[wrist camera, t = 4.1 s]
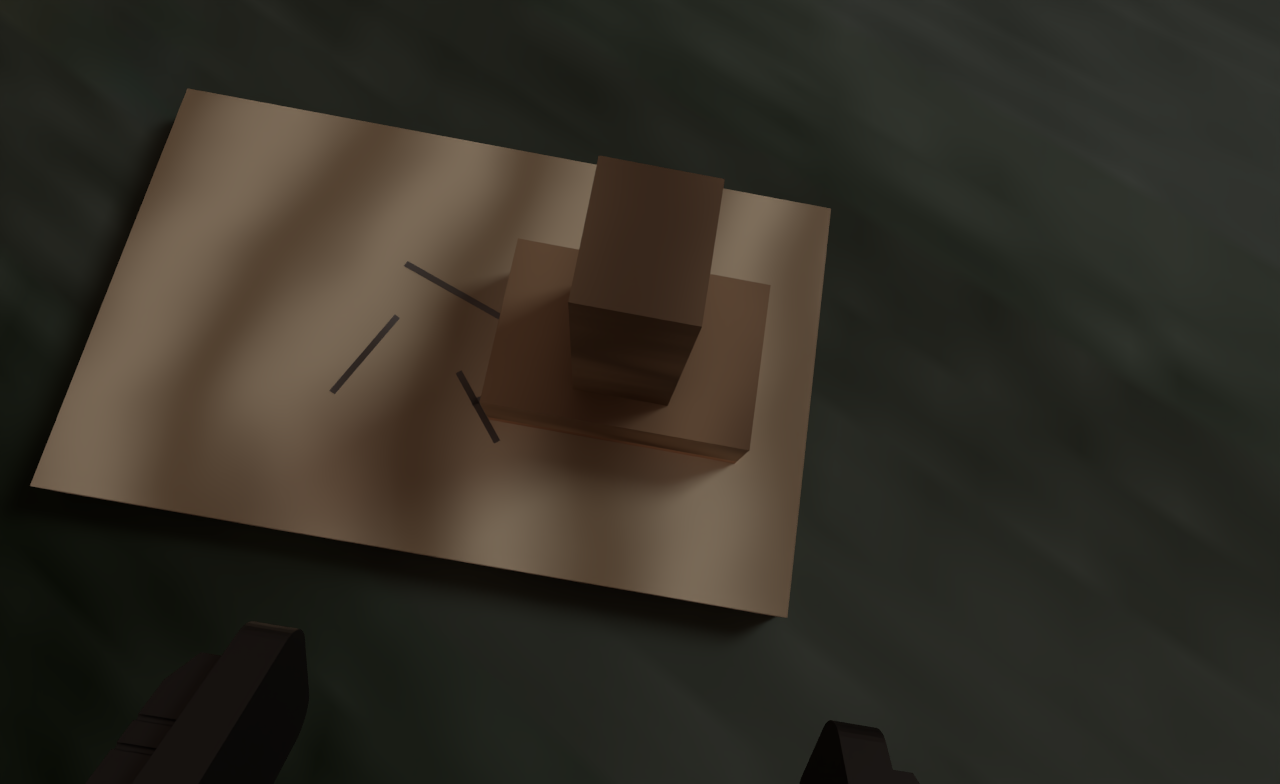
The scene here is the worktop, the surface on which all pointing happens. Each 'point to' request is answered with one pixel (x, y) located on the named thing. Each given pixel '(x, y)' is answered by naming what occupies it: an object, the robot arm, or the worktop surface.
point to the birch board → (411, 363)
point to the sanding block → (632, 324)
